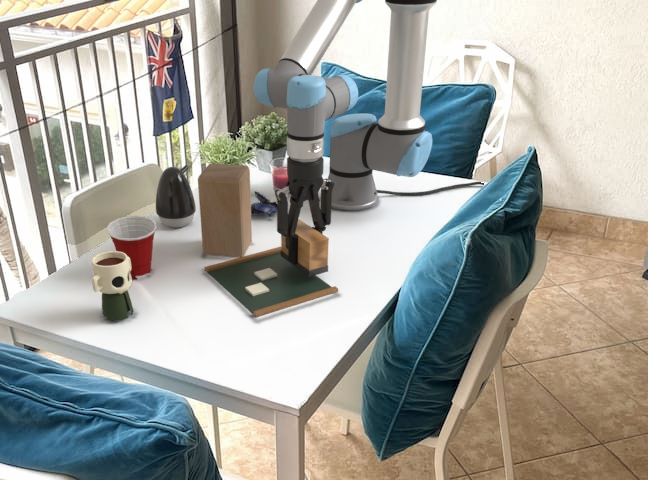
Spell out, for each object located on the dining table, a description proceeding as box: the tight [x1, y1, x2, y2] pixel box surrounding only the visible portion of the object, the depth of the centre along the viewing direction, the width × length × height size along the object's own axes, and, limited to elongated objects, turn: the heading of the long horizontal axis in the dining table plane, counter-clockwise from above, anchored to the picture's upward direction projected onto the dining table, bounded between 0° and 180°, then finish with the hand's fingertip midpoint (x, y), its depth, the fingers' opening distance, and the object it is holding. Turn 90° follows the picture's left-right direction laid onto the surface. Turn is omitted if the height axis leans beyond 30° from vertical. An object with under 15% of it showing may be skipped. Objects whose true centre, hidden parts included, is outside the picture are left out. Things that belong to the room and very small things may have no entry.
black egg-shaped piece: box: [155, 164, 197, 229], centre depth 178 cm, size 10×10×15 cm
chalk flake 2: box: [245, 283, 269, 296], centre depth 149 cm, size 4×4×1 cm
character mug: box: [91, 250, 135, 322], centre depth 140 cm, size 11×7×13 cm, turn 150°
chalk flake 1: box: [254, 268, 277, 281], centre depth 155 cm, size 4×4×1 cm
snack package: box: [251, 190, 277, 220], centre depth 186 cm, size 12×6×12 cm
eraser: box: [280, 219, 330, 277], centre depth 154 cm, size 5×12×8 cm, turn 30°
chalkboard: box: [204, 246, 339, 318], centre depth 153 cm, size 20×24×2 cm
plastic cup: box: [106, 215, 158, 280], centre depth 155 cm, size 11×11×12 cm
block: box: [197, 162, 253, 258], centre depth 163 cm, size 10×10×20 cm
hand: (303, 258), depth 155 cm, fingers closed on eraser, 5 cm apart
